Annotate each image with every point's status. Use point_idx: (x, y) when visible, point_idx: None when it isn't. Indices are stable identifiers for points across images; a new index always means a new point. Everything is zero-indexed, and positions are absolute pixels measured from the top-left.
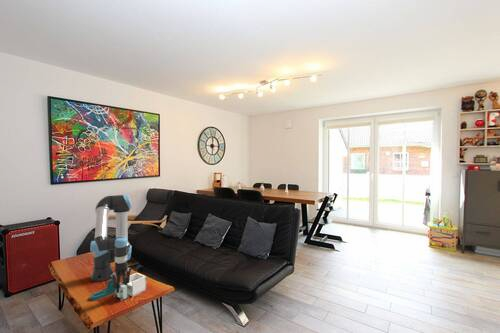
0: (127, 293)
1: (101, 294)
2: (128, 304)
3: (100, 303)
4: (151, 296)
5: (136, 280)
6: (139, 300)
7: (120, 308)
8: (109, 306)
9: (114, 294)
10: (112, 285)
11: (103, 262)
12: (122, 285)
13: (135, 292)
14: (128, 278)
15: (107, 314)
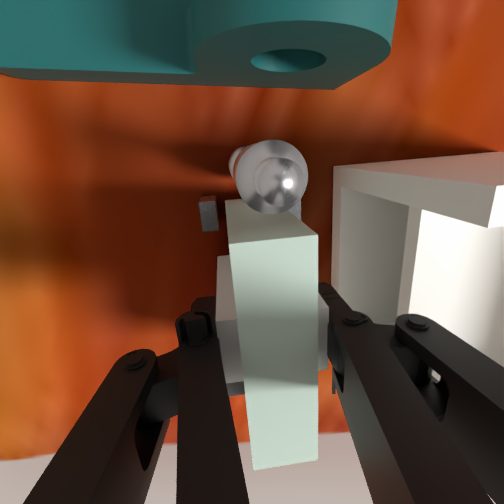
0: (332, 240)
1: (52, 40)
2: (239, 411)
3: (38, 210)
4: None
5: None
6: (324, 415)
7: None
8: (105, 335)
9: (201, 211)
10: (224, 42)
11: None
12: (280, 405)
13: None
14: (474, 463)
15: (60, 430)
